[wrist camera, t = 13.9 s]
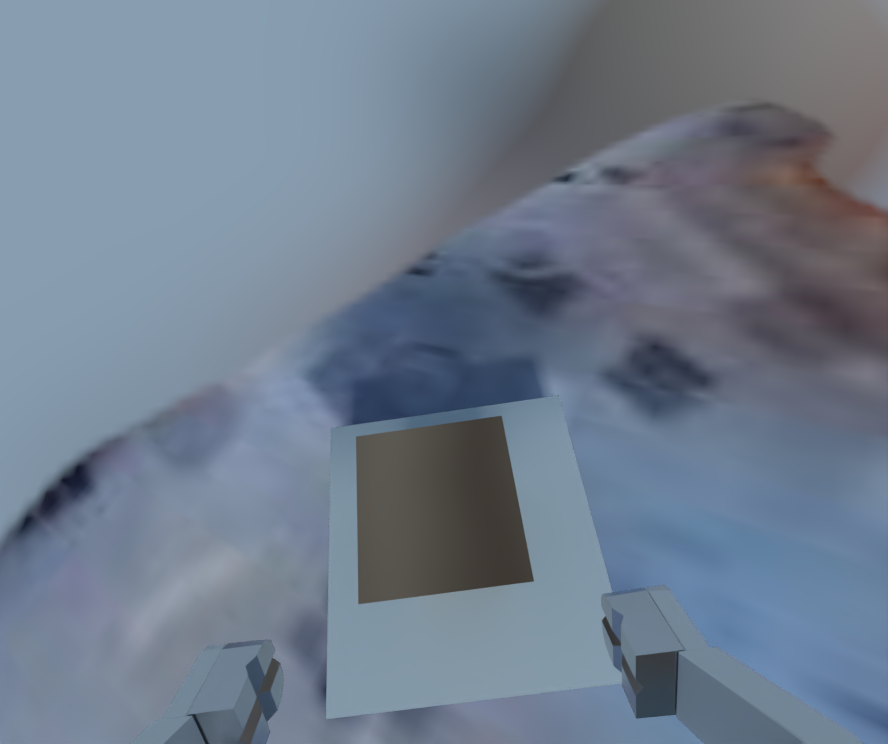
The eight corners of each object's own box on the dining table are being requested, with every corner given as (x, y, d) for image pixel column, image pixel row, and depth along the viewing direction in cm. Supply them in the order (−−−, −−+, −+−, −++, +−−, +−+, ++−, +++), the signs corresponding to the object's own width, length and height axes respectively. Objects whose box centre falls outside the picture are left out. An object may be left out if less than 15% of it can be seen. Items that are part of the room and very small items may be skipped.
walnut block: (414, 595, 20) (358, 604, 12) (407, 493, 23) (355, 436, 14) (514, 582, 20) (534, 581, 11) (496, 481, 23) (501, 415, 14)
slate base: (352, 697, 22) (326, 719, 18) (350, 447, 28) (331, 428, 25) (612, 665, 22) (636, 681, 18) (549, 419, 28) (558, 395, 25)
